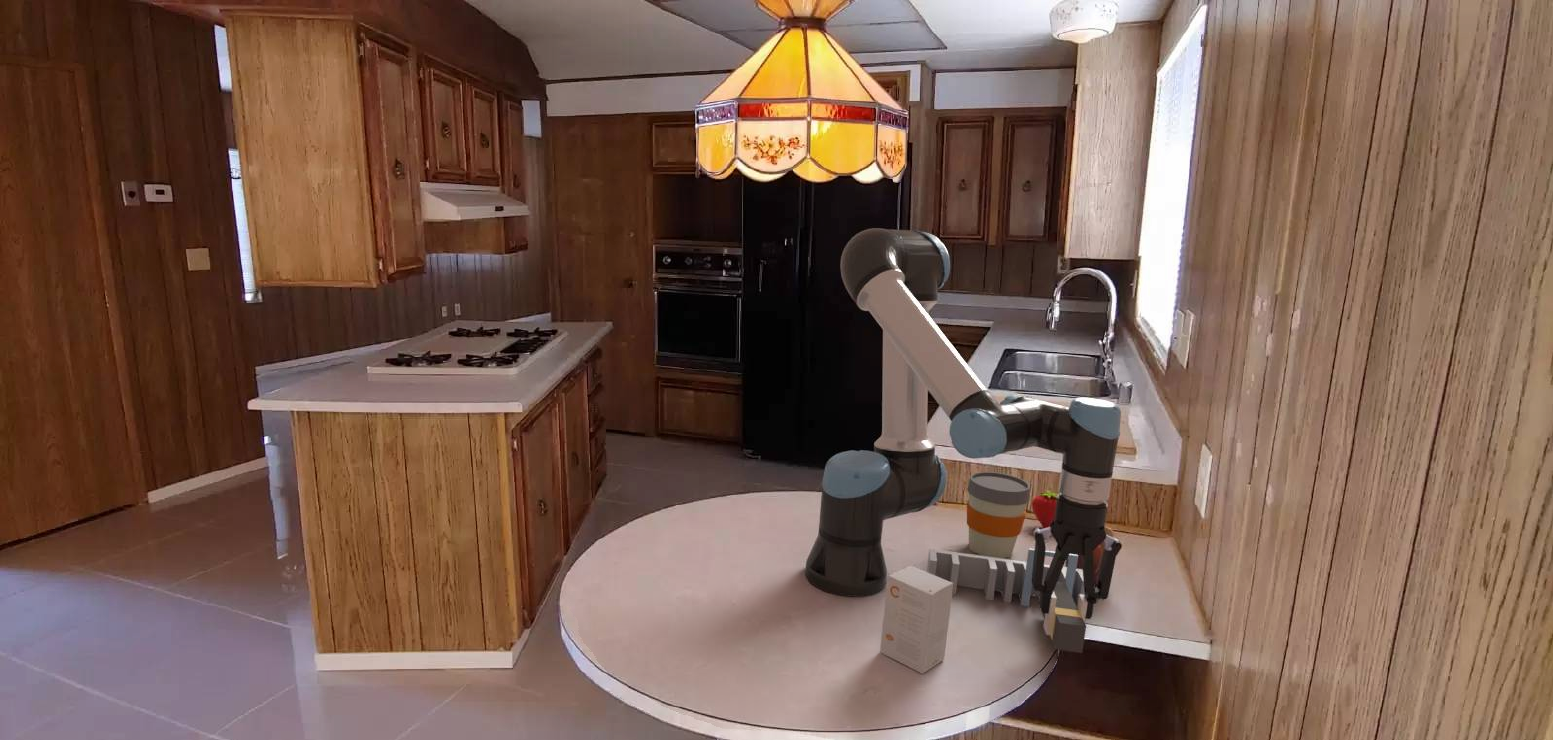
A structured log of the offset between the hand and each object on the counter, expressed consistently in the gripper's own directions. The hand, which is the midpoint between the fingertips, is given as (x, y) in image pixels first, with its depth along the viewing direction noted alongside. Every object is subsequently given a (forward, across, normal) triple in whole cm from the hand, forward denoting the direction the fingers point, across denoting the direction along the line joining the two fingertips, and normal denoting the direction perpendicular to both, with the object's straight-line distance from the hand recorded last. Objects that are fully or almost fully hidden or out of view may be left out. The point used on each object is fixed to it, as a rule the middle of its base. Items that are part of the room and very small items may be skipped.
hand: (1062, 632), depth 130 cm
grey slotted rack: (+2, -7, +16) cm, 18 cm away
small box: (+3, -24, -10) cm, 26 cm away
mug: (+3, +10, +27) cm, 29 cm away
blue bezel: (+2, 0, +13) cm, 14 cm away
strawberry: (+2, +7, +54) cm, 55 cm away
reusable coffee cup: (+2, -7, +37) cm, 38 cm away
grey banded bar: (0, 0, +3) cm, 3 cm away
